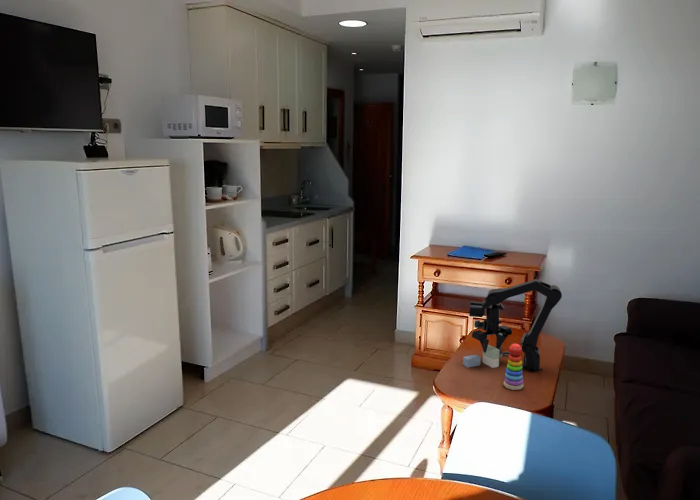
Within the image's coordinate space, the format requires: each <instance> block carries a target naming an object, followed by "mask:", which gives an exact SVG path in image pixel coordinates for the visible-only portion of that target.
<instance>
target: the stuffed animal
mask: <svg viewBox="0 0 700 500" xmlns="http://www.w3.org/2000/svg"><path fill="white" fill-rule="evenodd" d="M494 347H495V348H496V346H494ZM499 350H500V352H499V359H502V358H504V357H507V358H509V355H510V354H511V353H510V352H509V351H506V350H505V351H503V344H502V345H501V347H500V348H499Z"/></svg>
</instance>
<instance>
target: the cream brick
mask: <svg viewBox="0 0 700 500" xmlns="http://www.w3.org/2000/svg"><path fill="white" fill-rule="evenodd" d="M482 363H483V364H484V365H486V366H488V367H489V368H491V369H494V368H498V367H500V366H499V365H500V358H498V359H494V360H493V359H491V358H489V357H487V356H485V355H483V354H482Z"/></svg>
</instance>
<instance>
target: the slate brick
mask: <svg viewBox="0 0 700 500" xmlns="http://www.w3.org/2000/svg"><path fill="white" fill-rule="evenodd" d="M481 359H482V357H481V356H480V355H478V354H472V355H466V356H463V357H462V365H463V366H464V367H465V368H472V367H478V366H481V361H482V360H481Z"/></svg>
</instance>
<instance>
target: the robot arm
mask: <svg viewBox="0 0 700 500" xmlns="http://www.w3.org/2000/svg"><path fill="white" fill-rule="evenodd" d="M533 291H536V292H538V293H539V294H541V295H543V296H544V299H543V304H542V306H541V308H540V310H539V312H538V314H537V315H536V318H535V320H534V322H533V324H532V326H531V328H530V330H529V331H528V332H525V331H524V332H523V336H522V337H521V338H520V346H521V348H522V353H524V356H523V363H522V369H524V370H526V371H528V372H530V373H535V372H538V371H542V370H543V368H542V367H540V363H541V354H540V348H539V347H538V340H539V336H540V335H541V334H540V333H541V332H542V330H543V328H544V326H545V323H546V322H547V320H548V318H549V316H550V314H551V313H552V310H553V308H554V307H556V306H557V305H558V303H559V302H560V300H561V299H562V297H563V294H562V291H561V288H560V286H557V285H554V284H552V285H551V284H548V283H546V282H543V281H541V280H539V279H536V278H535V279H532V280H529V281H525V282H522V283H519V284H515V285H513V286H510V287H506V288H504V287H503V288H502V287H501V288H492V289H490V290H488V292H487V295H486V297H485V298H484V299H483V300H482V302H481V301H474V300H473V301H470V303H469V304H470V306H469V311H468V312H469V313H468V315H469V317H473V318H474V317H475V318H483V317H484V316H485V315H486V316H485V318H484V319H483V320H482V321H480V320H479V319H478V320H474V322H473V323H474V324H473V326H474V328H475V329H477V330H475V331H474V330H473V331H472V332H471V338H473V339H475V340H477V341H479V342H480V344H481V347H482V352H483V351H484V352H485V353H486V351H487V347H488V345H489V342H490V341H489V340H490V339H488V337H489V336H493V335H495V337H496V339H495V341H496V343H495V347H496V348H497V349H499V348H500V347H501V345H502V346H503V343H504V342H505V340H506V339H507V338H508V337H509V336H510V335H512V334H513V330H512V328H511V327H509V326H507V325H500V324H502V320H500V314H501V311H500V310H502V311H503V310H505V306H504V305H503V304H502V302H503V303H504V301H506V300H507V299H510V298H514V297H515V296H518V295H522V294H526V293H528V292H529V293H530V292H533ZM480 329H482V330H480Z"/></svg>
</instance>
